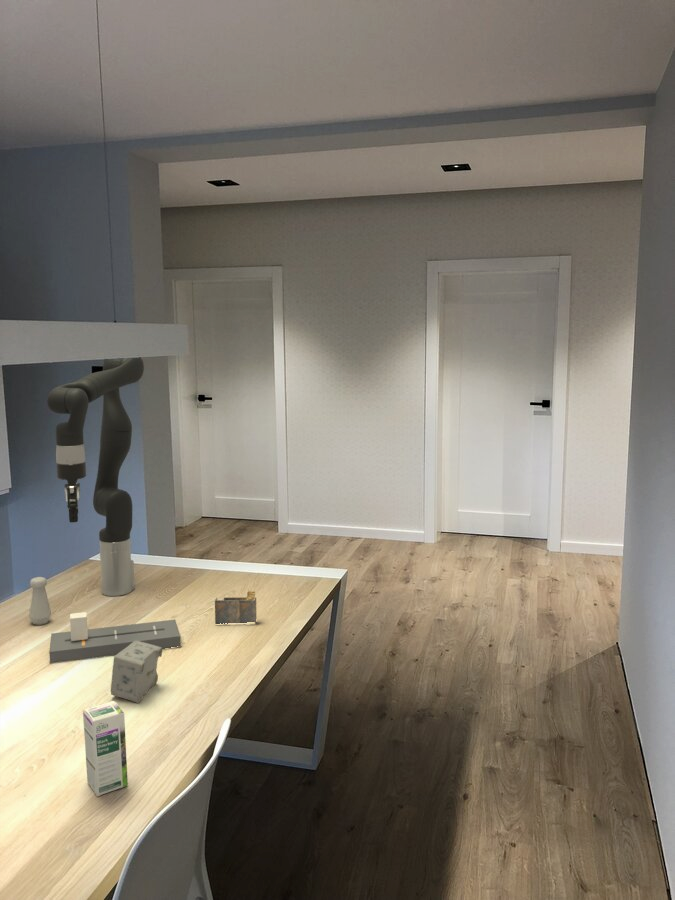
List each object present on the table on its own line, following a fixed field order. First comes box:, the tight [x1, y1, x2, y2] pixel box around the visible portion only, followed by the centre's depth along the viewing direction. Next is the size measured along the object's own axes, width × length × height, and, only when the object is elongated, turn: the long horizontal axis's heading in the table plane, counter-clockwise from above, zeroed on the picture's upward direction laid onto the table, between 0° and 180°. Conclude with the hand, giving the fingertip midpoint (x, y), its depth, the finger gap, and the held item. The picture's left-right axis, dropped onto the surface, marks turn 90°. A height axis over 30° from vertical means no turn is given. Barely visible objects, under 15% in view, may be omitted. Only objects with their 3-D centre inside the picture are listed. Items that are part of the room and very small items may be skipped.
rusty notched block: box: [214, 589, 257, 625], centre depth 211 cm, size 11×3×10 cm, turn 91°
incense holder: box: [110, 640, 163, 704], centre depth 170 cm, size 10×8×10 cm
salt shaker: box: [28, 576, 52, 626], centre depth 210 cm, size 6×6×13 cm
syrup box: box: [82, 700, 129, 797], centre depth 135 cm, size 6×6×14 cm
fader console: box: [48, 619, 182, 664], centre depth 196 cm, size 32×12×3 cm, turn 108°
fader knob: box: [69, 611, 89, 641], centre depth 192 cm, size 4×4×6 cm
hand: (73, 518), depth 207 cm, fingers open, 8 cm apart
